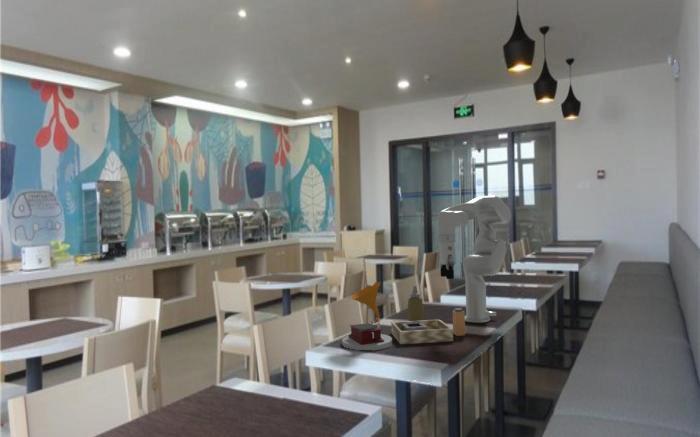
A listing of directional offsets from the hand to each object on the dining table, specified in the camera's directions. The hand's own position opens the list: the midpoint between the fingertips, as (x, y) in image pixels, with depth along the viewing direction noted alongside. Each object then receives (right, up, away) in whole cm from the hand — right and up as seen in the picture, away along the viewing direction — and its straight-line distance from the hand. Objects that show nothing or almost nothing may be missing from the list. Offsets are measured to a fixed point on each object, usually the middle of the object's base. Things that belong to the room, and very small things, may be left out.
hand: (447, 277), depth 215 cm
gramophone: (-36, -25, -16) cm, 47 cm away
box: (-13, -24, -9) cm, 29 cm away
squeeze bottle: (-12, -24, +17) cm, 32 cm away
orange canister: (+4, -24, -6) cm, 25 cm away
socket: (-16, -24, -9) cm, 30 cm away
